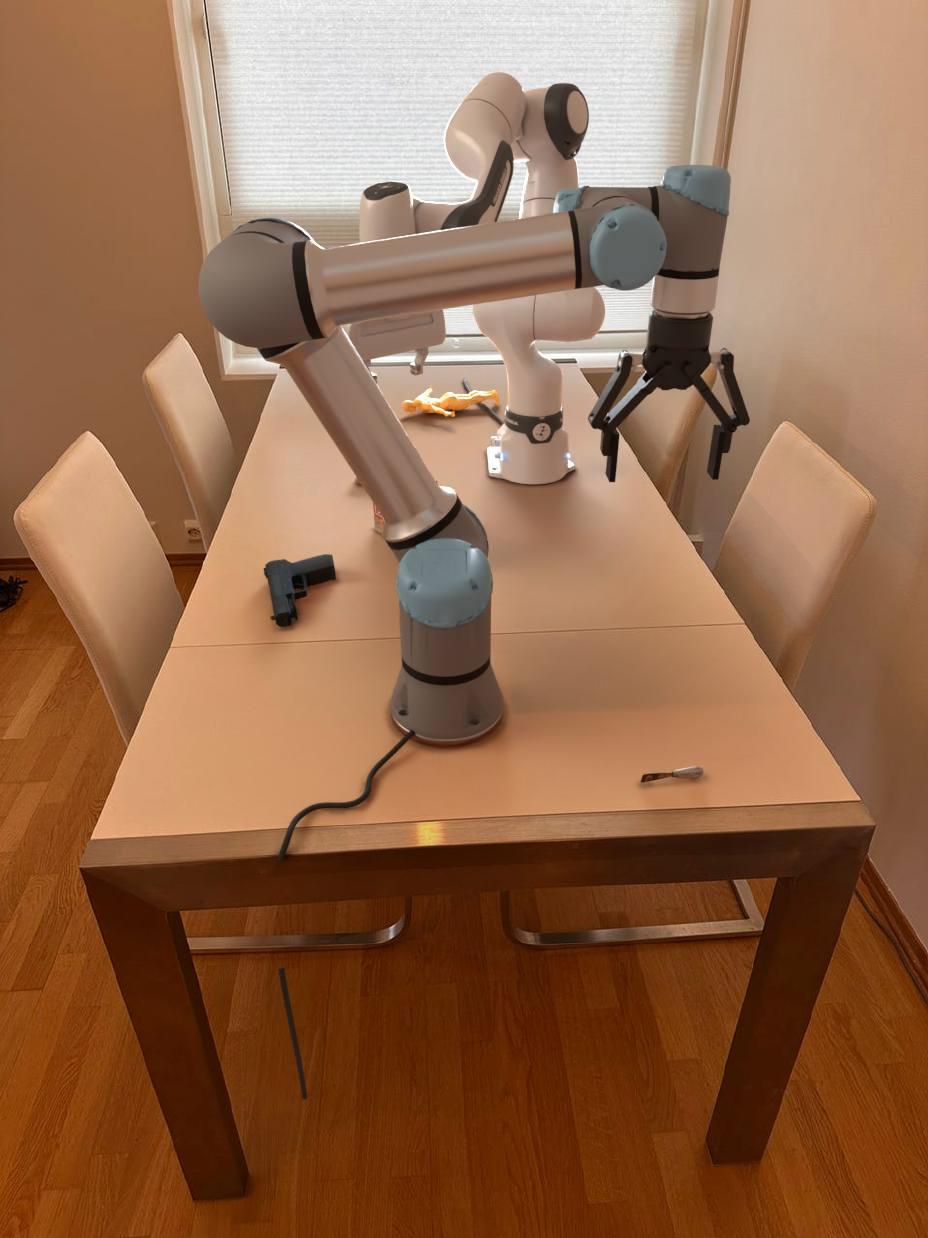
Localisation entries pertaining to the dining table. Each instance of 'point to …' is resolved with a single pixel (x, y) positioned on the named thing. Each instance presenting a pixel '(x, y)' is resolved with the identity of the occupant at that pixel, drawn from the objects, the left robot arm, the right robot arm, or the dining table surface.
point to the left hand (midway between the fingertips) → (661, 477)
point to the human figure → (448, 402)
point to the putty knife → (674, 774)
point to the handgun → (295, 583)
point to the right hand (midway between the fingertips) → (394, 379)
